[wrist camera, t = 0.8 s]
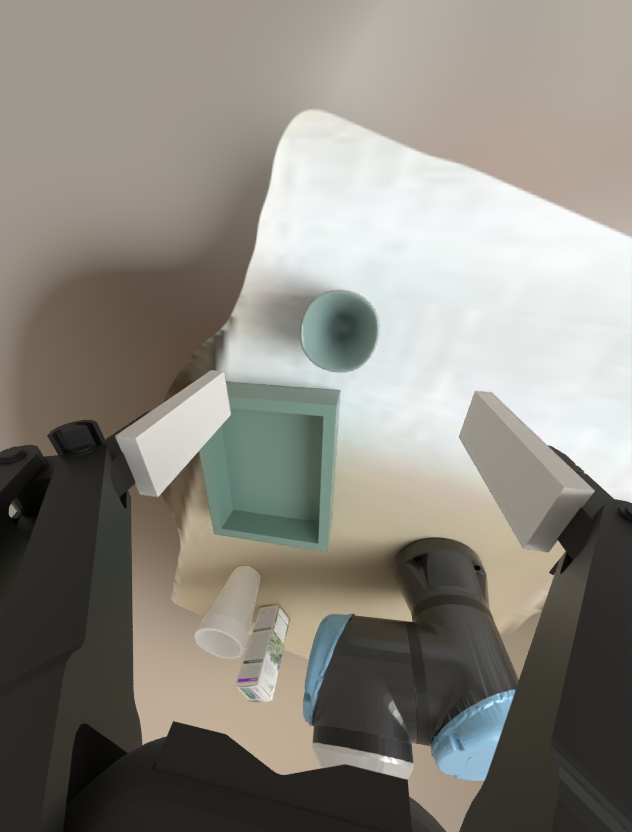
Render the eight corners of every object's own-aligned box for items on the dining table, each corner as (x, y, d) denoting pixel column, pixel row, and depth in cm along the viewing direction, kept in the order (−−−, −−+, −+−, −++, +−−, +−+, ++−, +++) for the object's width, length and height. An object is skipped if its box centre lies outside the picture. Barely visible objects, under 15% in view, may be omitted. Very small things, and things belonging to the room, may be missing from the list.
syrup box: (259, 606, 63) (232, 687, 50) (279, 603, 61) (257, 686, 48) (271, 621, 65) (248, 703, 52) (291, 618, 63) (272, 702, 50)
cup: (310, 347, 36) (293, 363, 27) (322, 285, 33) (307, 280, 24) (365, 360, 36) (366, 381, 27) (383, 299, 32) (391, 299, 23)
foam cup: (261, 594, 61) (237, 665, 49) (224, 579, 61) (191, 646, 49) (272, 570, 57) (248, 641, 45) (232, 554, 57) (198, 621, 45)
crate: (331, 524, 49) (327, 552, 43) (229, 509, 51) (214, 534, 46) (340, 390, 38) (336, 405, 33) (211, 380, 41) (188, 393, 35)
